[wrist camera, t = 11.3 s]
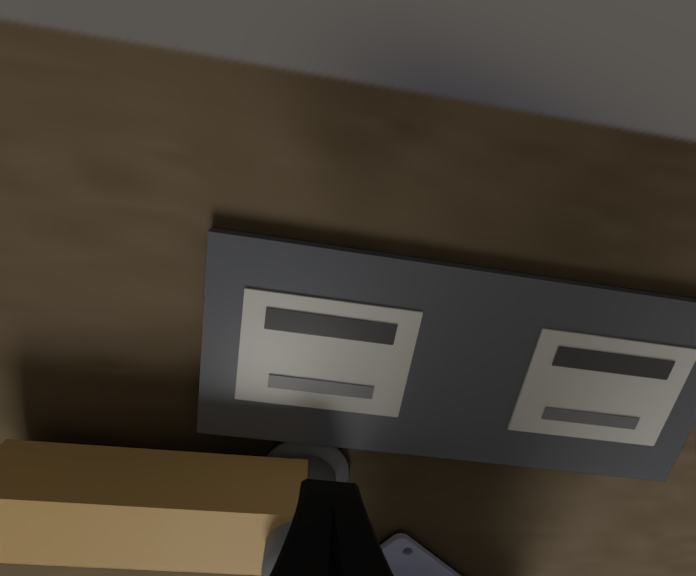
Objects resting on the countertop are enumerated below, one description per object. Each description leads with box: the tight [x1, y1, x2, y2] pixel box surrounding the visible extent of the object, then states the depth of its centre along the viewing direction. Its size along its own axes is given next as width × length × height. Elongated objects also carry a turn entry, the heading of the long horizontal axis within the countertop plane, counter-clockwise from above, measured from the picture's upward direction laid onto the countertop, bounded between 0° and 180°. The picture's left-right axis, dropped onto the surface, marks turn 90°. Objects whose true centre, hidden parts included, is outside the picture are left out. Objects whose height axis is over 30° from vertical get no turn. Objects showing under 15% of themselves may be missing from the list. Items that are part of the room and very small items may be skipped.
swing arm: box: [0, 439, 336, 576], centre depth 18 cm, size 14×3×4 cm, turn 83°
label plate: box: [197, 228, 696, 482], centre depth 20 cm, size 22×13×1 cm, turn 81°
